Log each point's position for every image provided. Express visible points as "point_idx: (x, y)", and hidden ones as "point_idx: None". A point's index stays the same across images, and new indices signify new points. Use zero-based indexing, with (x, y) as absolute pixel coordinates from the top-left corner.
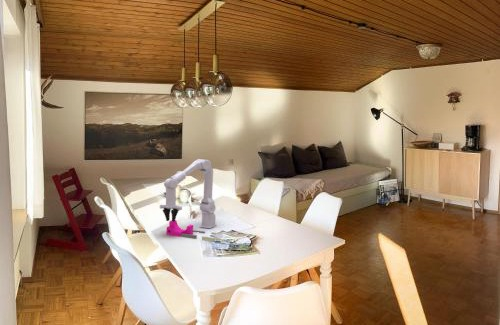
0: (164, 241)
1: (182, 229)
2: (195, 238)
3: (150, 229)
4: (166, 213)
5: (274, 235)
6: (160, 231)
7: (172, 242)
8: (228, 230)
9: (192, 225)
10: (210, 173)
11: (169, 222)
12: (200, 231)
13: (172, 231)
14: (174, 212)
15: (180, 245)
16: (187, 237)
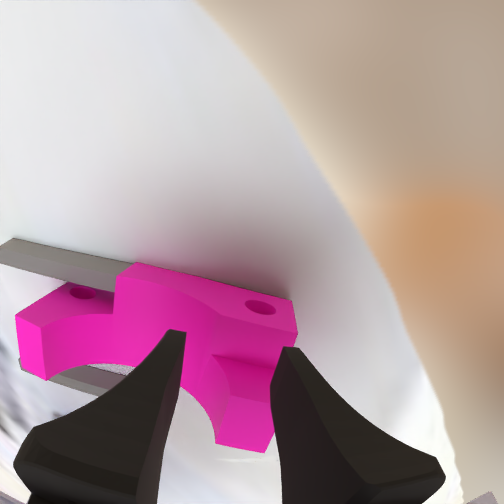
0: (215, 76)
1: None
2: (12, 239)
3: (432, 389)
4: (323, 441)
5: None
6: (368, 377)
7: (128, 68)
8: (13, 429)
9: (20, 355)
10: None
11: None
12: None
13: (218, 299)
14: (49, 431)
15: (45, 24)
16: (70, 253)
